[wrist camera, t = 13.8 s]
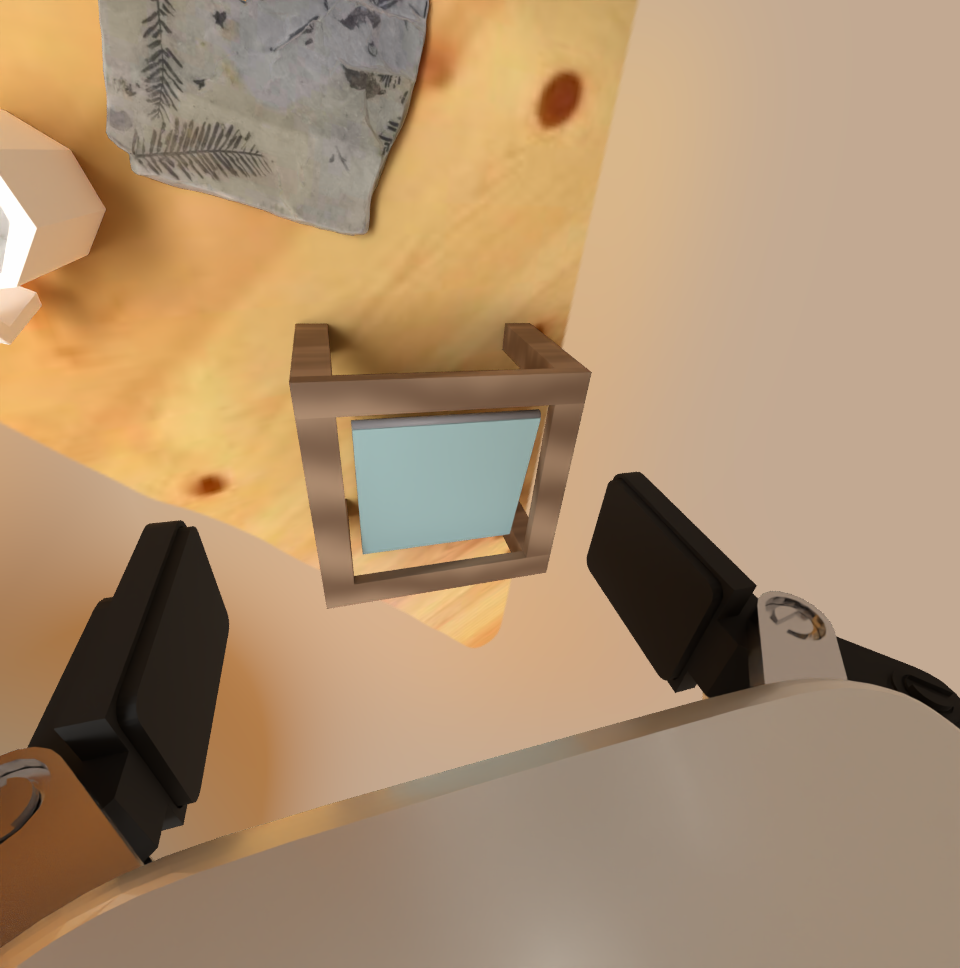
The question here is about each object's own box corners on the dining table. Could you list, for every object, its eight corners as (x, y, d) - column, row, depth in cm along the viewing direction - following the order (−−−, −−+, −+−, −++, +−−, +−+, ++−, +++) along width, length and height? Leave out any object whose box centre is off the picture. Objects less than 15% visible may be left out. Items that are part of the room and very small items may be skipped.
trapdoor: (350, 417, 32) (352, 425, 31) (537, 406, 35) (541, 414, 35) (361, 545, 42) (363, 554, 41) (506, 526, 45) (509, 534, 45)
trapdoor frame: (295, 323, 38) (289, 383, 28) (529, 323, 44) (591, 372, 34) (324, 519, 50) (327, 608, 40) (505, 499, 56) (546, 572, 46)
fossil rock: (122, 174, 30) (109, 175, 28) (88, -173, 23) (68, -202, 21) (386, 246, 37) (390, 251, 35) (426, -3, 30) (433, -14, 28)
